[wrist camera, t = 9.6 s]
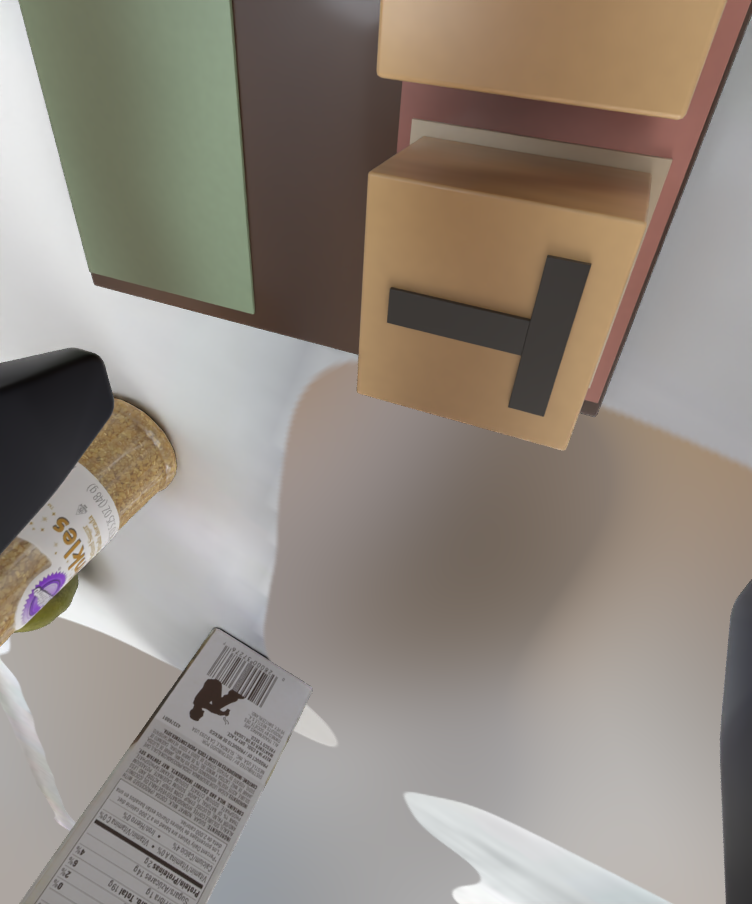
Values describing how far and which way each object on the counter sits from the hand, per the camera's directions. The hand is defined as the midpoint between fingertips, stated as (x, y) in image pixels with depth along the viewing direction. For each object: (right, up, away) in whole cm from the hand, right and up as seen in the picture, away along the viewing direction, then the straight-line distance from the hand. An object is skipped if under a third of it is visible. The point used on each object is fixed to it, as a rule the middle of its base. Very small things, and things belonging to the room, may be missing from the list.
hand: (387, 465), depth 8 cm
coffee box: (-7, -13, +26) cm, 30 cm away
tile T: (+3, +4, +5) cm, 7 cm away
